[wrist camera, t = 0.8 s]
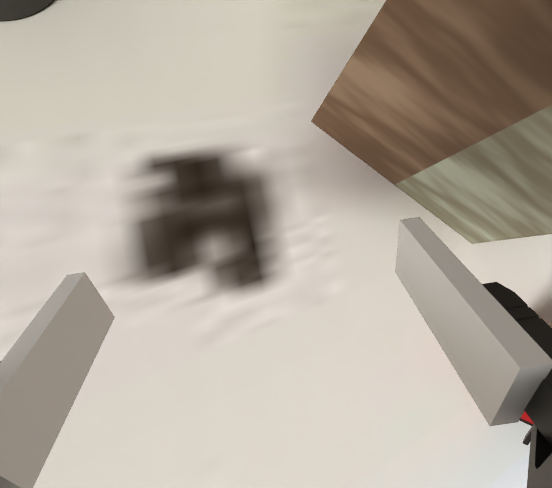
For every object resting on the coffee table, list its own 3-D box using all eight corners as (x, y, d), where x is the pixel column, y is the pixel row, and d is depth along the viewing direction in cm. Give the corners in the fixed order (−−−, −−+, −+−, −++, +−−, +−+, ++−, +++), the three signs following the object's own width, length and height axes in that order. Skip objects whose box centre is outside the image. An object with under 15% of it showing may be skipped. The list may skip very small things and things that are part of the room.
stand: (472, 243, 42) (986, 178, 14) (310, 121, 40) (553, -268, 11) (511, 166, 45) (1006, -16, 17) (363, 46, 42) (663, -415, 14)
